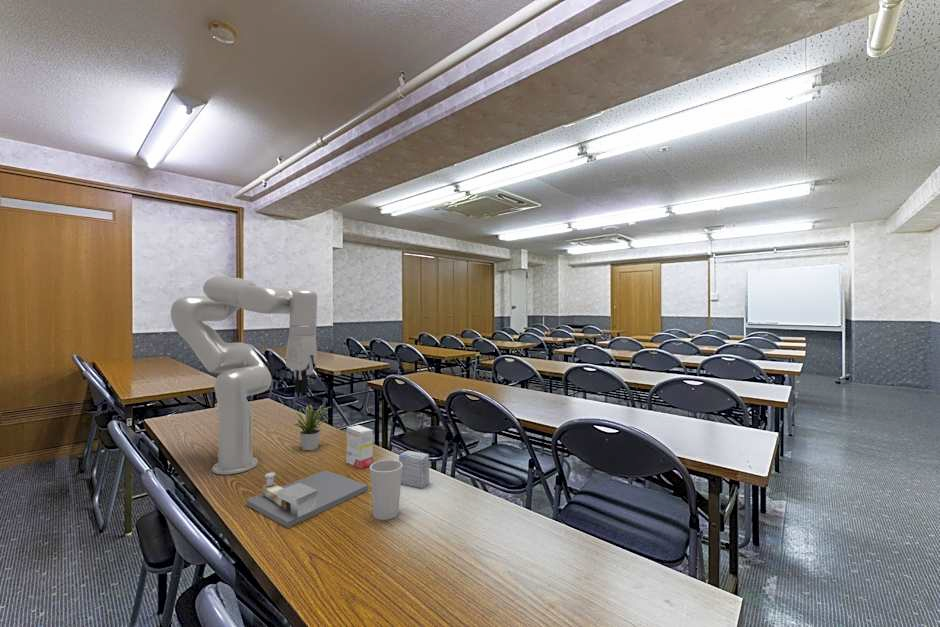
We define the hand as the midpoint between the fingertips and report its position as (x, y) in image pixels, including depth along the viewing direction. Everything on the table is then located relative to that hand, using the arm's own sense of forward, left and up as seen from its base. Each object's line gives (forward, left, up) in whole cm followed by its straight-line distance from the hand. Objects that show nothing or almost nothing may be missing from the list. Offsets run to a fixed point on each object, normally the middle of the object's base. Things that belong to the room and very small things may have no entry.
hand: (301, 392), depth 122 cm
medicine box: (+30, +17, -26) cm, 44 cm away
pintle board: (+13, -6, -26) cm, 30 cm away
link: (+12, -14, -24) cm, 30 cm away
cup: (+36, 0, -26) cm, 45 cm away
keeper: (+19, -13, -25) cm, 34 cm away
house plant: (-20, +18, -26) cm, 37 cm away
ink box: (+5, +18, -26) cm, 32 cm away
